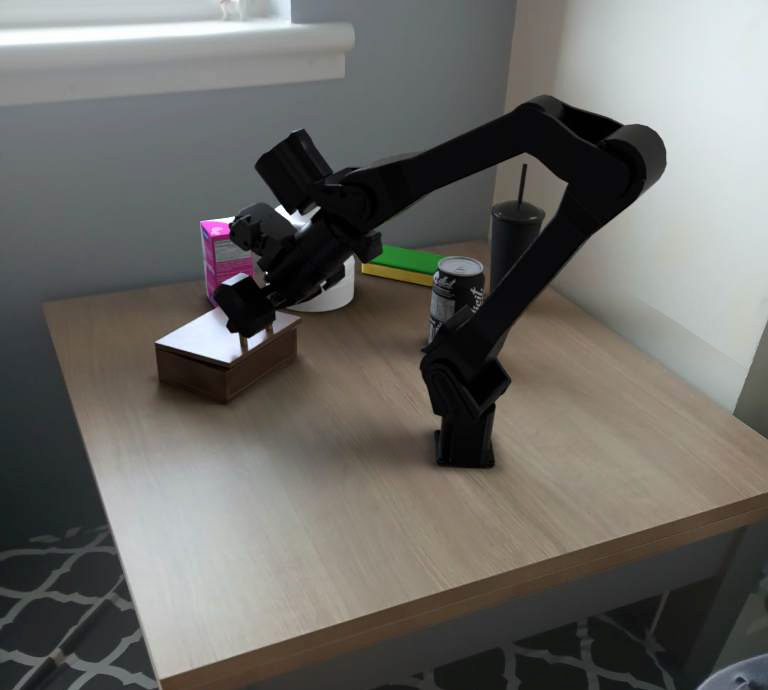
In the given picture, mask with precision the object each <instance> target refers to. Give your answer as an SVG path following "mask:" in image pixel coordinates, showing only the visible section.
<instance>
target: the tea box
mask: <svg viewBox="0 0 768 690" xmlns="http://www.w3.org/2000/svg"><path fill="white" fill-rule="evenodd" d="M154 350H155V359H156V368H157V374H158V380H160V381H163V382H165V383H168V384H171V385H174V386H176V387H179V388H182V389H184V390H186V391H189V392H192V393H194V394H198V395H200V396H202V397H205V398H208V399H210V400H214V401H216V402H219V403H221V404H224V405H229V404H230V403H232V402H234V401H235V400H237V399H238V398H239V397H241V396H242V395H244V394H245V393H247V392H248V391H250V390H251V389H253V388H254V387H255V386H257V385H258V384H260V383H261V382H263V381H264V380H266V379H267V378H268V377H271V376H272V375H273V374H274V373H276V372H277V371H279V370H281V369H282V368H283V367H284V366H286V365H288V364H289V363H291V362H292V361H293V360H294V359H296V358H297V357H298V328H297V326H295V327H294V328H292V329H290V330H289V331H287V332H286V333H284V334H283V335H281V336H280V337H278V338H276V339H275V340H273V341H272V342H270V343H269V344H267V345H266V346H264V347H263V348H261V349H259V350H258V351H256V352H255V353H253V354H252V355H250V356H249V357H247V358H245V359H244V360H242V361H241V362H239V363H238V364H236V365H235V366H233V367H231V368H227V367H223V366H220V365H216V364H213V363H209V362H206V361H202V360H198V359H195V358H191V357H188V356H184V355H181V354H177V353H173V352H170V351H166V350H163V349H159V348H156V347H154Z"/></svg>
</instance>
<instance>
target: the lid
mask: <svg viewBox="0 0 768 690" xmlns="http://www.w3.org/2000/svg"><path fill="white" fill-rule="evenodd" d="M270 298H271V297H269V298H268V299H270ZM228 319H229V318H228V317H227V316H226V314H225V313H224V312H223V311H222V309H221V308H220V307H217V308H215V307H214V308H213V309H212V310H210V311H208V312H206V313H204V314H203V315H201V316H198V317H197V318H195V319H193V320H192V321H190V322H188V323H187V324H184V325H183V326H181V327H179V328H177V329H175V330H173V331H171V332H170V333H168V334H167V335H165V336H163V337H161V338H159V339H157V340H156V341H154V342H153V343H154V348H159V349H163V350H166V351H170V352H173V353H177V354H181V355H184V356H188V357H191V358H195V359H198V360H202V361H206V362H209V363H213V364H216V365H220V366H223V367H227V368H231V367H233V366H235V365H236V364H238V363H239V362H241V361H242V360H244V359H245V358H247V357H249V356H250V355H252V354H253V353H255V352H256V351H258V350H259V349H261V348H263V347H264V346H266V345H267V344H269V343H270V342H272V341H273V340H275V339H276V338H278V337H280V336H281V335H283V334H284V333H286V332H287V331H289V330H290V329H292V328H294V327H297V326H298V325H300V324H302V322H303V319H302V316H298V315H293V314H289V313H285V312H281V311H278V310H277V311H276V320H275V321H274V322H273V324H272V325H270V326H268V327H267V328H265V329H264V330H262V331H261V332H259V333H257V334H256V335H254V336H253V337H251V338H249V339H248V338H245V337H242V335H241V334H240V333H233V334H231V333H230V332H229V330H228V329H227V328H226V324H227V322H228Z"/></svg>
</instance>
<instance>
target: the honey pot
mask: <svg viewBox="0 0 768 690" xmlns="http://www.w3.org/2000/svg"><path fill="white" fill-rule="evenodd" d="M320 208H321V207H318V206H317V207H316V208H315V209H314V210H312V211H311V212H309V213H308V214H306V215H304V216H301V215H300V214H299V212H298V210H297V211H296V212H295V213H294V214H292V215H291V216H290V215H289V213H287V212H286V211H285V209H284V208H283V207H282V205H281V204H280V205H278V206H276V208H274V209H275V210H276V211H277V212H278V213H280V214H281V215H282V216H284V217H285V218H286V219H288V220H289V221H290V222H291V224H292V225H293V226H294V227H295V228H296V229H297V230H299V229H300V228H301V227H302V226H303V225H304V224H305V223H306V222H307V221H308V220H309V219H310V218H311V217H312V216H313V215H314V214H315V213H316V212H317V211H318V210H319V209H320ZM355 262H356V261H355V257H354V254H353V255H352V256H351V257H350V258H349V259H347V260H346V261H345V262H344V263H343V264H344V265H345V277H344V278H343V279H342V280H341V281H340V282H339V283H337V284H336V285H335V286H333V287H331V288H330V289H328V290H327V291H324V290H323V288H322V286H323V285H324V284H325V283H326V281H324V282H322V283H321V284H320V286H321V288H322V293H321V294H320V295H318V296H317V297H315V298H314V299H312V300H310V301H307V302H304V303H301V304H297V305H294V306H290V307H287V308H286V309H287V310H292V311H297V312H304V313H307V312H308V313H318V312H327V311H334V310H337V309H340V308H342V307H345V306H346V305H348V304H350V302H351V301H352V300H353V299H354V295H355V294H354V293H355ZM265 274H267V272H266V271H265ZM265 284H266V285H265V286H267V285H268V284H267V283H266V282H265ZM269 284H270V283H269Z"/></svg>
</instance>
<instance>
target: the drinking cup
mask: <svg viewBox="0 0 768 690" xmlns="http://www.w3.org/2000/svg"><path fill="white" fill-rule="evenodd" d="M527 171H528V163H522V167H521V173H520V180H519V187H518V195H517V199H512V200H505V201H504V202H499V203H496V204H494V205H492V206H491V208H490V215H491V216H492V217H491V239H490V240H491V242H490V269H489V270H490V271H489V295H490V294H491V292H492V291H493V290H494V289H495V288H496V286H497V285H498V284H499V283H500V281H501V280H502V279H503V278H504V277H505V275H506V274H507V273H508V272H509V270H510V269H511V268H512V267H513V265H514V264H515V263H516V262H517V261H518V259H519V258H520V257H521V256H522V254H523V253H524V252H525V251H526V250H527V248H528V247H529V246H530V245H531V243H532V242H533V241H534V240H535V239H536V237H537V236H538V235H539V234H540V232H541V229H542V224H543V222H544V221H545V219H546V215H547V214H546V211H545V210H544V209H543V208H541V207H539V206H537V205H535V204H534V203H532V202H530V201H526V200H523V199H524V193H525V187H526V186H525V185H526V178H527ZM489 295H488V296H489Z"/></svg>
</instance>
